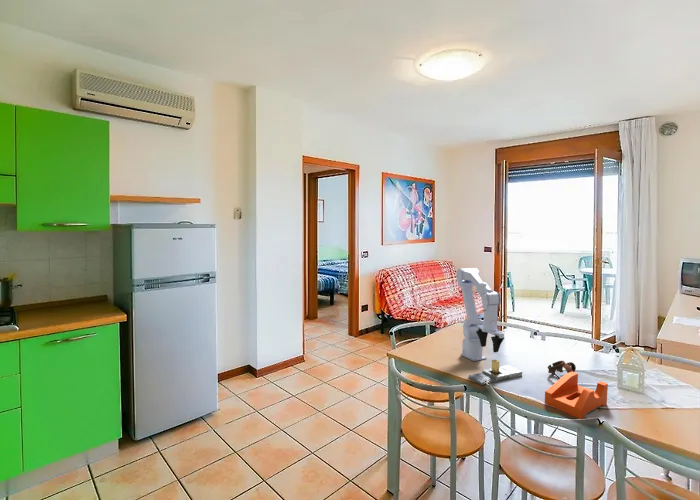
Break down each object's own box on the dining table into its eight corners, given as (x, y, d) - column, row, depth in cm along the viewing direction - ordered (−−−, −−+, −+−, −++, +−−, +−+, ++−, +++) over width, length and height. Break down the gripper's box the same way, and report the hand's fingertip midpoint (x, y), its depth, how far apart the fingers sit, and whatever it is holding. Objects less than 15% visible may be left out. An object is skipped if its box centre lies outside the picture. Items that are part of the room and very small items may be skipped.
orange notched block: (570, 391, 147) (571, 371, 147) (606, 405, 137) (607, 383, 136) (544, 404, 138) (545, 382, 137) (580, 420, 127) (581, 396, 126)
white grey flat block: (481, 385, 153) (481, 380, 153) (468, 377, 160) (468, 373, 160) (522, 376, 161) (522, 371, 161) (507, 369, 169) (507, 364, 168)
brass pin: (489, 376, 161) (490, 360, 161) (495, 375, 162) (495, 359, 162) (494, 378, 159) (495, 362, 158) (500, 377, 160) (500, 361, 159)
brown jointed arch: (568, 386, 152) (557, 367, 154) (550, 387, 161) (540, 369, 162) (586, 374, 157) (575, 355, 159) (568, 375, 165) (558, 357, 167)
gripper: (471, 316, 171) (471, 345, 172) (495, 324, 158) (494, 356, 159) (484, 314, 174) (483, 343, 175) (508, 322, 161) (507, 353, 162)
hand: (489, 349), depth 167 cm, fingers open, 7 cm apart
